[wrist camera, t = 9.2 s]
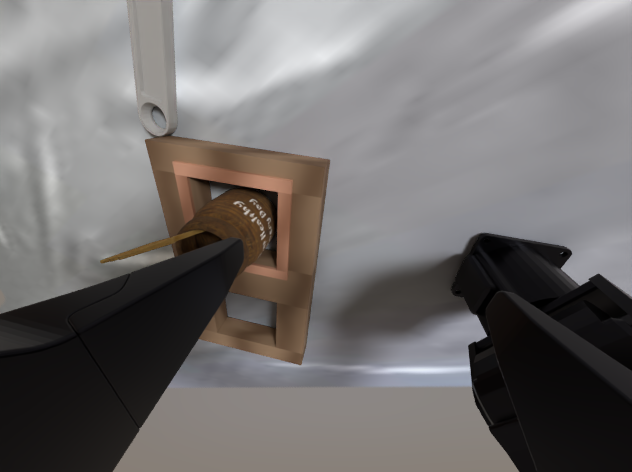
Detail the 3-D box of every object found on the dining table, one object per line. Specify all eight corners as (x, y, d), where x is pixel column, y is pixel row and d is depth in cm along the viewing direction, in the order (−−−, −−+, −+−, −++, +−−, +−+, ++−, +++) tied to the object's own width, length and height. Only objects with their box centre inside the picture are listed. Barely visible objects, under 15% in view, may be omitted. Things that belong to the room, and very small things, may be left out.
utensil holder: (238, 246, 25) (146, 349, 14) (209, 189, 22) (69, 267, 12) (289, 236, 23) (224, 347, 13) (263, 173, 20) (155, 249, 10)
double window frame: (330, 159, 18) (324, 168, 16) (305, 346, 31) (300, 367, 28) (168, 135, 20) (141, 140, 18) (207, 322, 32) (194, 340, 30)
